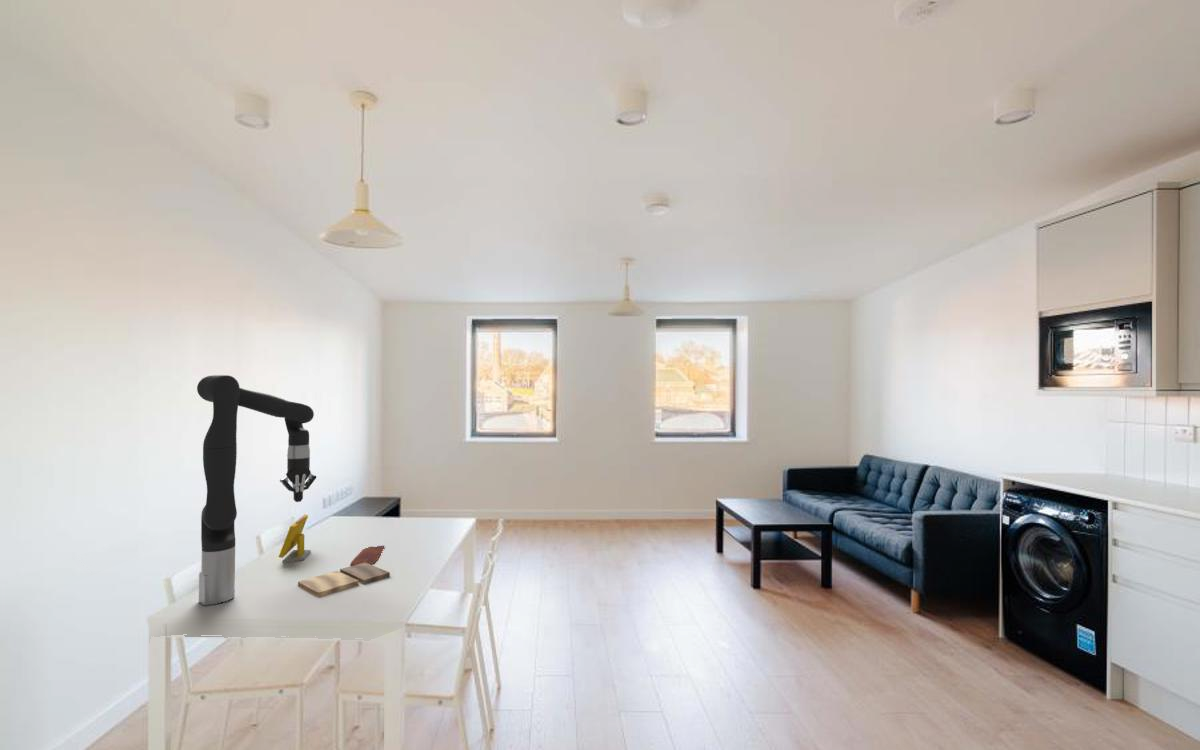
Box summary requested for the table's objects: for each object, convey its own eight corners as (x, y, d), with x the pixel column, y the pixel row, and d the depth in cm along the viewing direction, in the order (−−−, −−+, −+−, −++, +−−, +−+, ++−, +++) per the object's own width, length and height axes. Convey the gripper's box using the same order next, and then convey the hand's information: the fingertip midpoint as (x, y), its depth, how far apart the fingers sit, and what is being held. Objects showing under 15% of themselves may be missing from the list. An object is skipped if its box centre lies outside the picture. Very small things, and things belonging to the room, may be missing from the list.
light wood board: (318, 597, 182) (318, 592, 182) (297, 585, 192) (298, 581, 192) (358, 584, 193) (358, 580, 193) (337, 574, 203) (337, 570, 203)
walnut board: (363, 584, 194) (363, 580, 194) (340, 573, 205) (340, 569, 205) (389, 577, 201) (389, 572, 201) (365, 566, 213) (365, 562, 213)
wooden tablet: (375, 566, 214) (375, 562, 214) (348, 568, 212) (348, 564, 212) (388, 546, 241) (388, 543, 241) (364, 547, 239) (364, 544, 239)
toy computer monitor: (293, 550, 233) (294, 514, 233) (313, 549, 235) (314, 513, 235) (278, 565, 213) (278, 525, 214) (300, 564, 215) (300, 524, 216)
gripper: (283, 459, 200) (283, 506, 199) (320, 455, 210) (320, 500, 210) (276, 457, 204) (275, 503, 204) (312, 454, 215) (311, 497, 214)
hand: (298, 501), depth 207 cm, fingers closed
